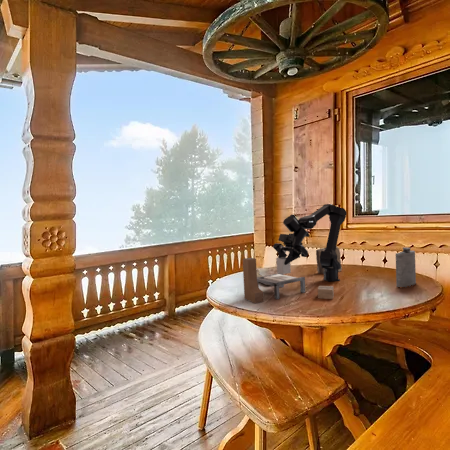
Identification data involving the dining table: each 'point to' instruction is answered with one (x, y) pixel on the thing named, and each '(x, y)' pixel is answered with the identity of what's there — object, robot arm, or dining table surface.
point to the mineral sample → (319, 268)
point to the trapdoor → (277, 278)
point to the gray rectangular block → (282, 266)
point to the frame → (282, 283)
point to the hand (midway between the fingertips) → (281, 263)
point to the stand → (325, 292)
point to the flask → (405, 268)
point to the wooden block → (251, 281)
